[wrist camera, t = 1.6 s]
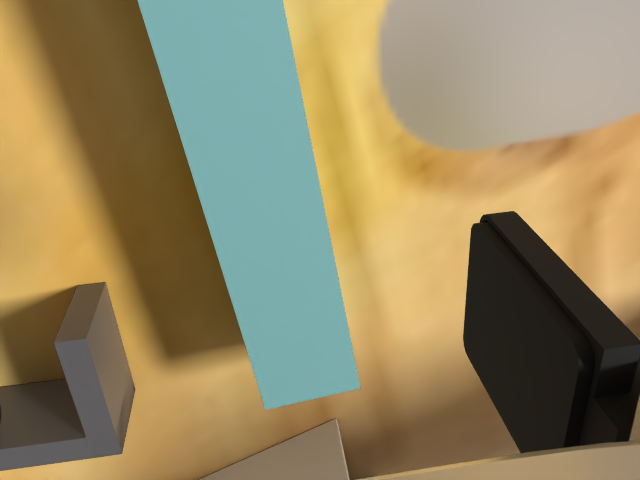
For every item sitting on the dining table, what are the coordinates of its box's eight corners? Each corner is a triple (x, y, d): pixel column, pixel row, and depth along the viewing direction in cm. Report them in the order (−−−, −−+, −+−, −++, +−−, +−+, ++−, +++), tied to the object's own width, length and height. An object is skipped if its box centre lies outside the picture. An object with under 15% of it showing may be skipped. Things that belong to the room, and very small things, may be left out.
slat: (224, -252, 19) (222, -303, 14) (341, 317, 29) (360, 388, 25) (96, -226, 18) (53, -269, 14) (260, 335, 29) (265, 410, 25)
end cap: (105, 282, 26) (86, 338, 23) (135, 389, 29) (122, 454, 26) (-86, 304, 26) (-137, 366, 22) (-36, 412, 29) (-74, 481, 25)
